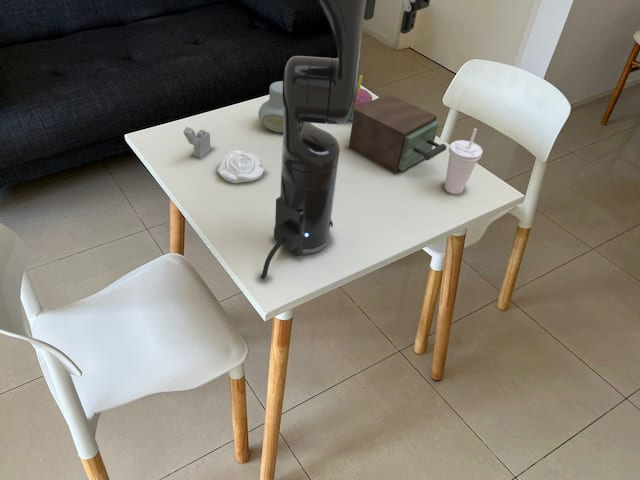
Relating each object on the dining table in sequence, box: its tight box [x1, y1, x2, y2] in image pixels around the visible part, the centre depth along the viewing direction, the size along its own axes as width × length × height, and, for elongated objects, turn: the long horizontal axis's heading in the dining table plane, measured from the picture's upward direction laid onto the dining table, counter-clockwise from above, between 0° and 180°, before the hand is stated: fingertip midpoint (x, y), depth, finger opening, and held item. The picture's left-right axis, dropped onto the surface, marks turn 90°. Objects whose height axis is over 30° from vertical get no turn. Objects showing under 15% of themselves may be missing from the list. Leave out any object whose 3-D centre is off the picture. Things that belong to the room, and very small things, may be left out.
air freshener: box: [258, 80, 283, 133], centre depth 124 cm, size 11×8×10 cm
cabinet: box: [348, 93, 438, 174], centre depth 117 cm, size 14×12×10 cm
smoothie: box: [444, 127, 483, 195], centre depth 106 cm, size 6×6×14 cm
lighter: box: [182, 126, 212, 159], centre depth 114 cm, size 7×2×8 cm, turn 151°
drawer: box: [398, 120, 447, 172], centre depth 115 cm, size 17×10×8 cm, turn 43°
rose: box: [217, 149, 264, 184], centre depth 111 cm, size 10×4×10 cm
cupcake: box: [349, 73, 373, 122], centre depth 128 cm, size 9×8×12 cm
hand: (385, 25), depth 94 cm, fingers open, 8 cm apart
